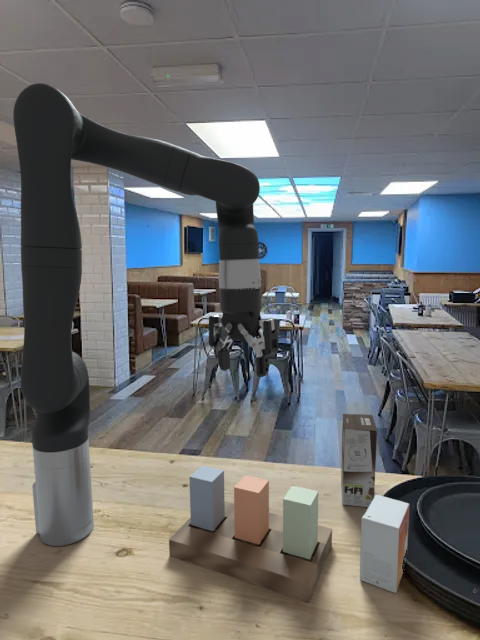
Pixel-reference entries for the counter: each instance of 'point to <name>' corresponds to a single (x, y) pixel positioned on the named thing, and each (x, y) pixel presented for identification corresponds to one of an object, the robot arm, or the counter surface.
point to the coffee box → (358, 459)
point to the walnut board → (252, 555)
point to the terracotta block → (251, 509)
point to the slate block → (207, 497)
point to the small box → (384, 542)
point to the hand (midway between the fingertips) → (243, 372)
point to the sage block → (300, 521)
